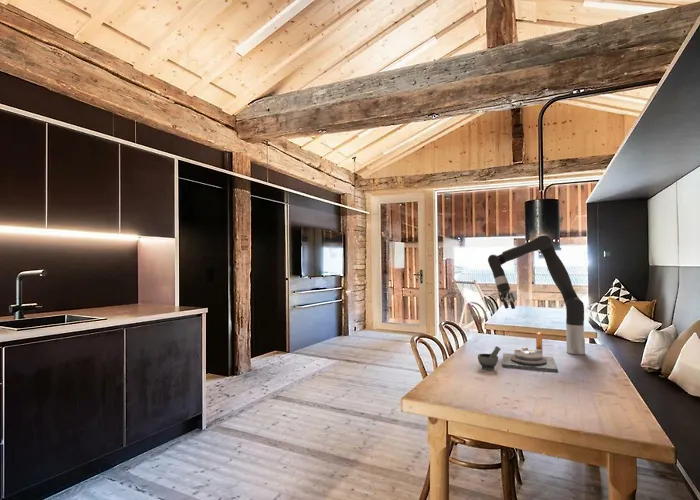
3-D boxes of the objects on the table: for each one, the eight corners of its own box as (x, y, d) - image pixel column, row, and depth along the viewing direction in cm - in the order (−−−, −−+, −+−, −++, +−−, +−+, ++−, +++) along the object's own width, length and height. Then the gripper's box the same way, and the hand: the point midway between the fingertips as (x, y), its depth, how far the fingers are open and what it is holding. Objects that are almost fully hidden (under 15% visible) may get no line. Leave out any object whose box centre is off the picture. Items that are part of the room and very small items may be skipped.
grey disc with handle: (534, 362, 202) (534, 339, 203) (509, 357, 213) (509, 335, 214) (553, 356, 215) (553, 334, 215) (528, 351, 226) (528, 331, 226)
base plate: (553, 359, 219) (552, 354, 219) (557, 372, 195) (557, 366, 195) (503, 355, 229) (503, 350, 229) (502, 366, 205) (502, 361, 205)
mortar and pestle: (478, 370, 198) (477, 347, 198) (477, 366, 207) (477, 343, 207) (501, 372, 195) (501, 348, 195) (500, 367, 204) (499, 344, 204)
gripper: (501, 281, 243) (510, 306, 237) (512, 283, 252) (521, 307, 246) (491, 285, 248) (499, 309, 242) (502, 286, 257) (510, 310, 251)
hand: (510, 308), depth 244 cm, fingers open, 8 cm apart
